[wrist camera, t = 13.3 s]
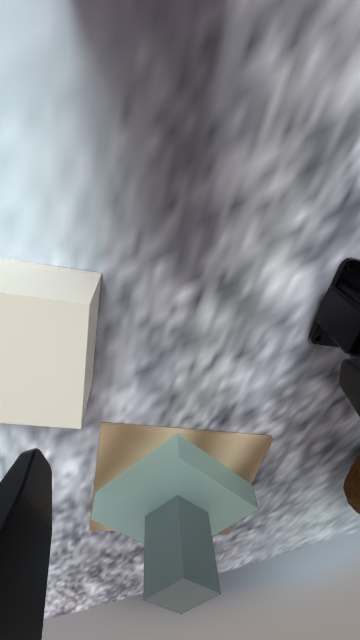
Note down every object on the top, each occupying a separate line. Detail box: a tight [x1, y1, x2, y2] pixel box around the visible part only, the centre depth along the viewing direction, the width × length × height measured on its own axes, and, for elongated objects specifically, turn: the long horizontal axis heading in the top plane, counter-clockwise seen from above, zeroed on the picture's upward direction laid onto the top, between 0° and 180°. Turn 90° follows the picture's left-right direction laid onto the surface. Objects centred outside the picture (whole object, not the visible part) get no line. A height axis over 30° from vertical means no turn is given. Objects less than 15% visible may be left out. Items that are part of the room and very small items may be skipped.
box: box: [0, 258, 101, 429], centre depth 20 cm, size 9×9×4 cm
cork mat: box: [89, 422, 273, 534], centre depth 31 cm, size 15×15×1 cm
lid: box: [91, 433, 259, 614], centre depth 27 cm, size 11×11×8 cm
